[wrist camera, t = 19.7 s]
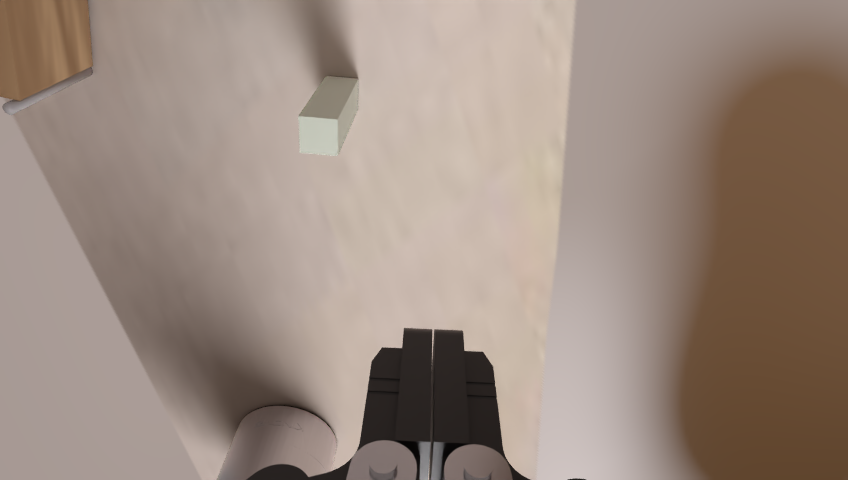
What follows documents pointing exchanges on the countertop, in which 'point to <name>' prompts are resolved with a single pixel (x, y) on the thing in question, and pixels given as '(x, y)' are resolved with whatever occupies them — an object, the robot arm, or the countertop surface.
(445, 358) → the robot arm
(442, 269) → the countertop surface
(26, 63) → the door
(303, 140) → the grey rectangular block
